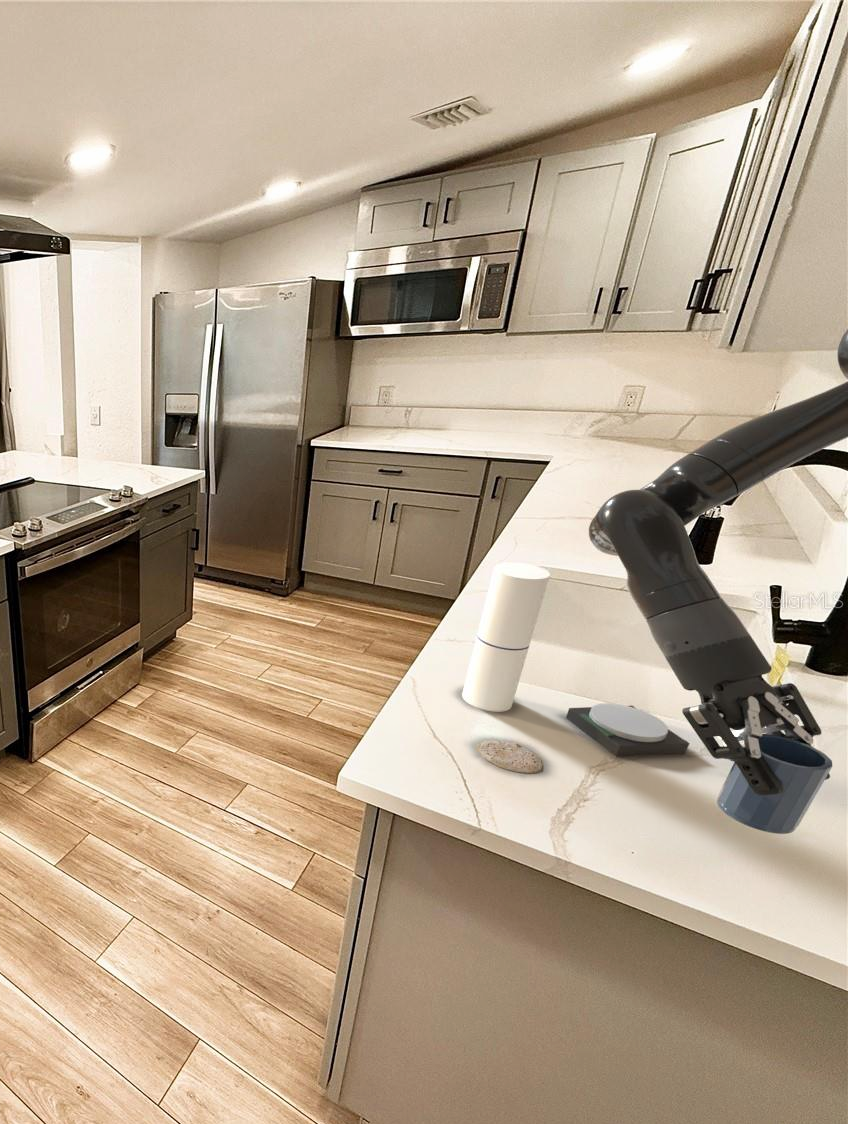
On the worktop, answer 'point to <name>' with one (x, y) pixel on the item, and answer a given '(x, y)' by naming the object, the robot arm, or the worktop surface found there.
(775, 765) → the tumbler
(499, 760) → the flatbread
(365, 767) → the worktop surface
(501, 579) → the cylindrical container
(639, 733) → the scale
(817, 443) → the robot arm
